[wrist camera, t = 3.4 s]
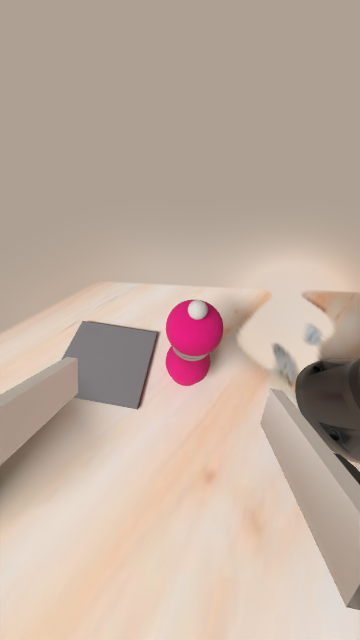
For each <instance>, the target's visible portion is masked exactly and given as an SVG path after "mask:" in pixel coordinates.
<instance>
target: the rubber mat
mask: <svg viewBox="0 0 360 640" xmlns="http://www.w3.org/2000/svg"><path fill="white" fill-rule="evenodd" d="M156 337H157V333H156V332H150V331H144V330H137V329H131V328H124V327H118V326H111V325H105V324H99V323H92V322H86V321H82V323H81V325H80V327H79V329H78V330H77V332H76V334H75V336H74V338H73V340H72V341H71V343H70V345H69V347H68V349H67V351H66V352H65V354H64V356H63V358H62V359H64V358H66V357H72V358H78V394H76V395H75V396H74V397H75V398H80V399H86V400H91V401H96V402H102V403H107V404H112V405H117V406H123V407H128V408H133V409H138V406H139V402H140V398H141V394H142V391H143V387H144V383H145V379H146V375H147V371H148V368H149V364H150V360H151V356H152V352H153V348H154V345H155V341H156Z"/></svg>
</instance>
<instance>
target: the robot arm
mask: <svg viewBox="0 0 360 640" xmlns="http://www.w3.org/2000/svg"><path fill="white" fill-rule="evenodd" d="M76 394H78V358H72V357H66V358H64V359H62V360H61V361H59V362H57V363H55V364H54V365H52V366H50V367H48V368H47V369H45V370H43V371H41V372H40V373H38V374H36V375H34V376H33V377H31V378H29V379H27V380H26V381H24V382H22V383H20V384H19V385H17V386H15V387H13V388H12V389H10V390H8V391H6V392H5V393H3V394H1V395H0V466H1V465H2V464H3V463H4V462H5V461H6V460H7V459H8V458H9V457H10V456H11V455H12V454H13V453H15V452H16V451H17V450H18V449H19V448H20V447H21V446H22V445H23V444H24V443H25V442H26V441H27V440H28V439H29V438H31V437H32V436H33V435H34V434H35V433H36V432H37V431H38V430H39V429H40V428H41V427H42V426H43V425H44V424H46V423H47V422H48V421H49V420H50V419H51V418H52V417H53V416H54V415H55V414H56V413H57V412H58V411H59V410H60V409H62V408H63V407H64V406H65V405H66V404H67V403H68V402H69V401H70V400H71V399H72V398H73V397H74V396H75V395H76ZM296 399H297V403H298V406H299V409H300V412H301V413H300V412H299V410H298V409H297V408H296V407H295V405H294V404H293V403H292V402H291V401H290V399H289V398H288V397H287V396H286V394H285V393H284V392H283V391H282V390H276V389H270V391H269V395H268V398H267V402H266V406H265V409H264V413H263V417H262V420H261V426H262V428H263V430H264V432H265V434H266V436H267V439H268V441H269V443H270V445H271V447H272V449H273V451H274V454H275V456H276V458H277V460H278V462H279V464H280V466H281V469H282V471H283V473H284V475H285V477H286V479H287V481H288V483H289V486H290V488H291V490H292V492H293V494H294V496H295V498H296V501H297V503H298V505H299V507H300V509H301V511H302V513H303V515H304V518H305V520H306V522H307V524H308V526H309V528H310V530H311V533H312V535H313V537H314V539H315V541H316V543H317V545H318V547H319V550H320V552H321V554H322V556H323V558H324V560H325V562H326V565H327V567H328V569H329V571H330V573H331V575H332V577H333V579H334V582H335V584H336V586H337V588H338V590H339V592H340V594H341V597H342V599H343V601H344V603H345V605H346V607H349V608H353V609H358V610H360V472H359V471H358V470H357V468H356V467H354V466H353V465H352V464H351V463H350V462H349V461H347V460H346V459H348V460H350V461H353V462H356V463H360V359H325V360H321V361H318V362H315V363H313V364H311V365H308V366H307V367H306V368H304V369H303V370H302V371H301V372H300V374H299V376H298V378H297V381H296ZM331 450H332V451H333V452H335V453H336V454H335V453H333V452H332V451H331Z"/></svg>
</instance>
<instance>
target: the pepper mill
mask: <svg viewBox="0 0 360 640" xmlns="http://www.w3.org/2000/svg"><path fill="white" fill-rule="evenodd" d="M166 334H167V337H168V339H169V341H170V343H171V345H172V346H171V347H170V349H169V351H168V353H167V357H166V367H167V370H168V373H169V374H170V376H171V377H172V378H173V379H174V381H175V382H177V383H178V384H180V385H184V386H190V385H193V384H195V383H197V382H199V381H201V380H202V379H203V378H204V377H205V376H206V374H207V372H208V370H209V366H210V357H209V354H208V353H209V352H211V351H213V350H214V349H215V348H216V347H217V345H218V344H219V342H220V341H221V338H222V334H223V322H222V318H221V316H220V314H219V312H218V311H217V310H216V309H215V308H214V307H213V306H212V305H210V304H209V303H207V302H204V301H202V300H187V301H184V302H182V303H180V304H178V305H177V306H176V307H174V309H173V310H172V311H171V313H170V314H169V316H168V319H167V323H166Z"/></svg>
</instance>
